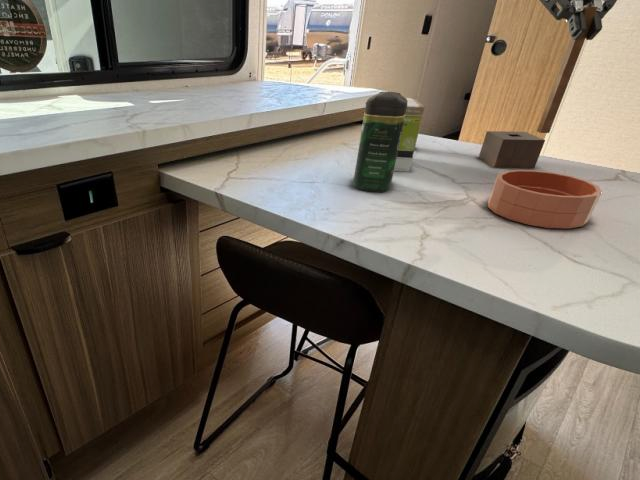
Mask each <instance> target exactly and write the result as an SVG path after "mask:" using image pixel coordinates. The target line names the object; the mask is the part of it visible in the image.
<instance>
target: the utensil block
mask: <svg viewBox="0 0 640 480" xmlns="http://www.w3.org/2000/svg"><path fill="white" fill-rule="evenodd" d="M545 142H546V140H545V139H543V138H541V137H539V136H536V135H534V134H532V133H529V132H527V131H507V130H506V131H502V130H501V131H500V130H497V131H495V130H493V131H492V130H486V132H485V136H484V138H483V142H482V145H481V149H480V151H479V154H478V159H479V160H481V161H483V163H485V164H488V165H489V166H490V167H492V168H494V169H531V170H532V169H533V170H534V169H535V168H536V165H537V162H538V160H539V158H540V155H541V152H542V149H543V147H544V145H545Z"/></svg>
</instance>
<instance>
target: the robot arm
mask: <svg viewBox="0 0 640 480" xmlns="http://www.w3.org/2000/svg"><path fill="white" fill-rule="evenodd" d="M617 1H618V0H539V2H540V4H542V5H543V6H544V8H545V9H546V10H547V11H548V12H549V13H550V14H551V16H552V17H553V18H554V19H555V21H561V20H562V19H563V20H565V22H566V23H567V24H568V28H569V29H568V30H569V35H570V38H571V37H573V40H579V39H580V38H581V37H582V35H583V34H584V33H585V32H586V29H587V28H586V20H585V15H584V12H582V10H583V7H597V10H596V13H595V15H594V17H593V20H592V23H591V25H590V28H589V30H588V33H587V36H586V39H585V41H592V40H593V39H595V37H597V35H598V34H599V33H600V32H601V31H602V29H603V21H602V20H603V19H604V18H605V16H606V15H607V14H608V13H609V11H611V10H612V9H613V7H614V6H615V4H616V3H617ZM558 5H559V6H560V8H559V7H558Z"/></svg>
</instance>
